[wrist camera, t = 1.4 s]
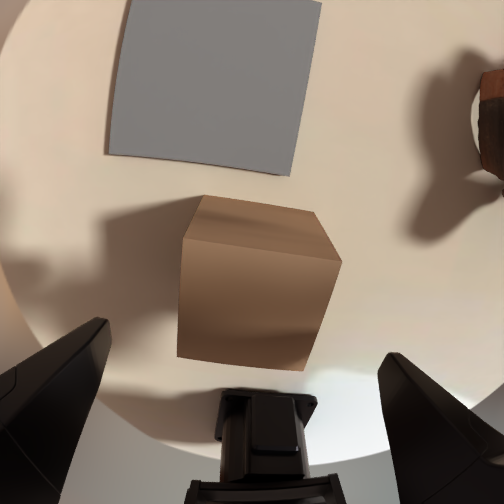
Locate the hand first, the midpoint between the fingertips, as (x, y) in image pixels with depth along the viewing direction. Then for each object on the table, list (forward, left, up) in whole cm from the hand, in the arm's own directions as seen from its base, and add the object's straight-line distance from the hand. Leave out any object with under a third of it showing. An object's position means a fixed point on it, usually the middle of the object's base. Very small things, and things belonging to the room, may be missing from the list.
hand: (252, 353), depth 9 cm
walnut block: (0, 0, -7) cm, 7 cm away
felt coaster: (+8, +3, -7) cm, 11 cm away
